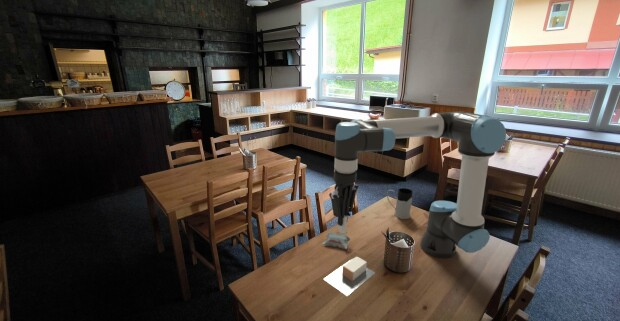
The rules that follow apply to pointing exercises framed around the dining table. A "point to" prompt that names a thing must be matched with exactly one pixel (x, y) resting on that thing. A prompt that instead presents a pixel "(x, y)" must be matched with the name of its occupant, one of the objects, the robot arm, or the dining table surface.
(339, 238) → the packaged food
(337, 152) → the robot arm
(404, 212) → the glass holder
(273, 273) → the dining table surface
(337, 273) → the board
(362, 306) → the dining table surface
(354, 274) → the block
